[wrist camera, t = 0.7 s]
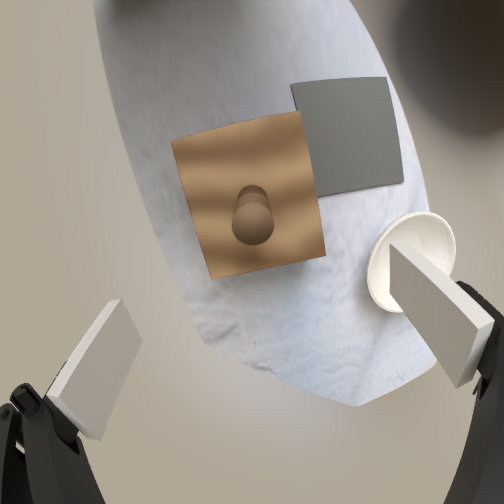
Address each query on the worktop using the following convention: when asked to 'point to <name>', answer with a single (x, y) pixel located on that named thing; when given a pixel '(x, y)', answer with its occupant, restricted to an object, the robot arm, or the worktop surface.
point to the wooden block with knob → (251, 194)
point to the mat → (350, 133)
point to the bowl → (420, 238)
